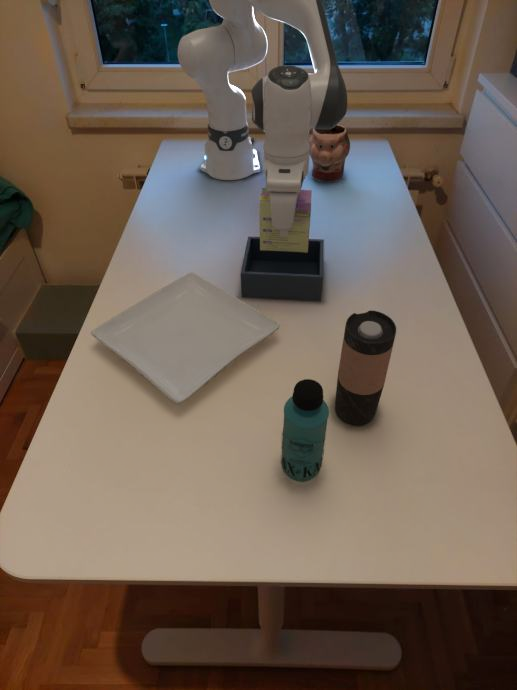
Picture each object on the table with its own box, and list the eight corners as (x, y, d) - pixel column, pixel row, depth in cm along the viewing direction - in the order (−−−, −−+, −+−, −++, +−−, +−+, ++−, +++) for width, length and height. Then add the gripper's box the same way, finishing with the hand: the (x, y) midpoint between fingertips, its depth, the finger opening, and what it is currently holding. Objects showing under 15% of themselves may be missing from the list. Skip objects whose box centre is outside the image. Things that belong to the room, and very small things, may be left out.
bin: (248, 259, 122) (248, 236, 117) (321, 263, 120) (323, 239, 116) (241, 297, 112) (240, 273, 107) (321, 301, 110) (323, 277, 105)
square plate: (92, 344, 101) (87, 330, 99) (193, 283, 116) (191, 269, 113) (180, 416, 88) (177, 402, 85) (282, 336, 102) (282, 322, 99)
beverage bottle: (277, 454, 82) (279, 372, 68) (318, 451, 82) (328, 368, 68) (282, 490, 77) (285, 409, 63) (325, 487, 78) (337, 405, 64)
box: (308, 238, 111) (311, 188, 103) (308, 253, 107) (311, 202, 99) (262, 236, 112) (261, 187, 104) (259, 251, 108) (258, 200, 100)
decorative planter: (308, 158, 162) (311, 114, 152) (347, 160, 161) (351, 115, 151) (305, 187, 148) (307, 140, 138) (346, 189, 147) (352, 142, 137)
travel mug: (366, 434, 85) (385, 350, 71) (325, 415, 88) (336, 331, 74) (383, 404, 89) (404, 320, 75) (344, 387, 92) (357, 303, 78)
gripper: (273, 140, 104) (273, 201, 114) (265, 187, 90) (265, 252, 99) (304, 141, 104) (301, 202, 113) (300, 188, 89) (297, 253, 99)
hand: (284, 226), depth 106 cm, fingers closed on box, 5 cm apart
